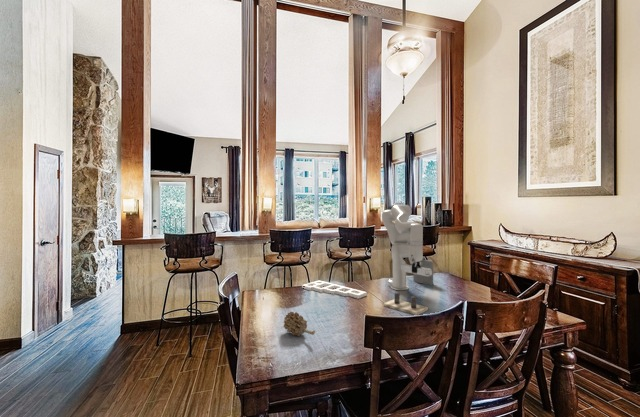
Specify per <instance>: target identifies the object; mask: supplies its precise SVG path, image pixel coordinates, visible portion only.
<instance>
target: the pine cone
mask: <svg viewBox="0 0 640 417" xmlns="http://www.w3.org/2000/svg"><path fill="white" fill-rule="evenodd" d="M283 323H284V324H283V328H284V329H285V330H286V332H287V333H289V334H292V335H293V336H297V337H301V336H302V334H303V335H304V333H306V334H309V335H312V336H313V335H315V333H316V330H308V329H307V328H308V320H306V319H305V318H304V317H303V316H302V315H300V314H299V312H294V311H289V312H287V314H285V317H284V318H283Z"/></svg>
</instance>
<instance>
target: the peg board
mask: <svg viewBox="0 0 640 417" xmlns="http://www.w3.org/2000/svg"><path fill="white" fill-rule="evenodd" d="M400 297H401V296H400V292H394V298H392V299H391V300H388V301H386V302H384V303H383V306H384V307H385V308H386V307H387V308H390V309H393V310H397V311H401V312H403V313H404V312H405V313H408V314H411V315H415V316H420V315H422V314H423V313H425V312H426V311H428V308H429V307H428V306H424V305H421V304H417V296H410V302H408V301H405V300H401V299H400Z"/></svg>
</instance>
